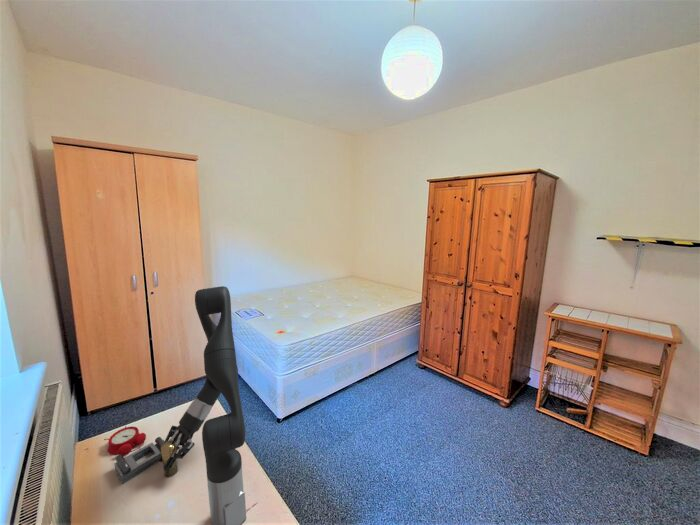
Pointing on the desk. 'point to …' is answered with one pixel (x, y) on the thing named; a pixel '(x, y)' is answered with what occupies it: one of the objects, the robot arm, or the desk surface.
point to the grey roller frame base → (128, 465)
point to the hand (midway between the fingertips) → (163, 465)
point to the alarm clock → (125, 441)
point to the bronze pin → (166, 452)
